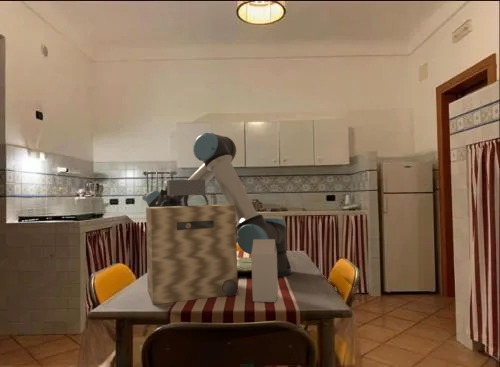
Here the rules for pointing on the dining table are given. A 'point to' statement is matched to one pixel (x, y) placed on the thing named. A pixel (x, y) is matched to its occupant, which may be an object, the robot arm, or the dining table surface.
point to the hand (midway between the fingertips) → (177, 182)
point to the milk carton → (264, 270)
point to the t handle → (185, 187)
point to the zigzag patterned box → (191, 252)
